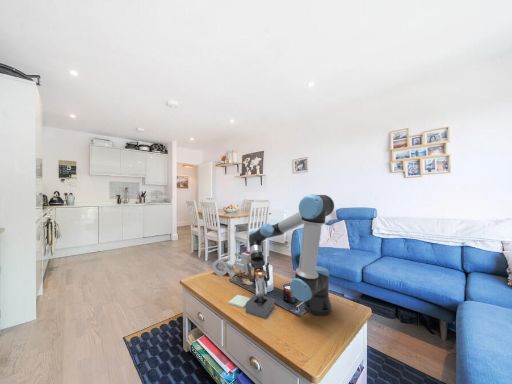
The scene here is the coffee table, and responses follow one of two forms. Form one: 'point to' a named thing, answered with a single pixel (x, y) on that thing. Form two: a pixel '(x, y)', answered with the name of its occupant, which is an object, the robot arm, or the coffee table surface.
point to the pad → (239, 301)
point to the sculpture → (224, 266)
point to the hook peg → (260, 286)
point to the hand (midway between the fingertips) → (261, 293)
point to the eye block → (260, 307)
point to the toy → (243, 262)
